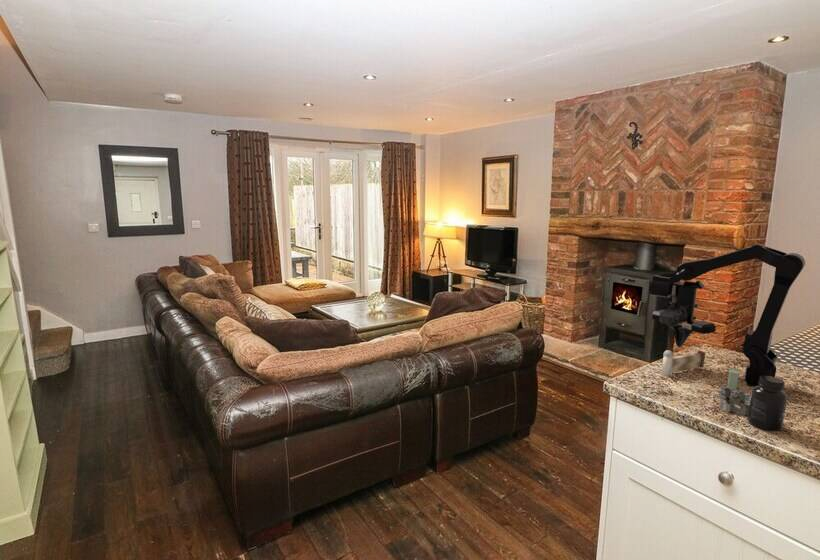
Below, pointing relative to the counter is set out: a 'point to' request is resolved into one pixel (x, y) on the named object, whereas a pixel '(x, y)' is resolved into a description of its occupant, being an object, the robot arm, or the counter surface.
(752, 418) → the supplement bottle
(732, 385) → the latch post
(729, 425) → the counter surface
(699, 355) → the gate
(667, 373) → the hinge post
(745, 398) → the egg carton
